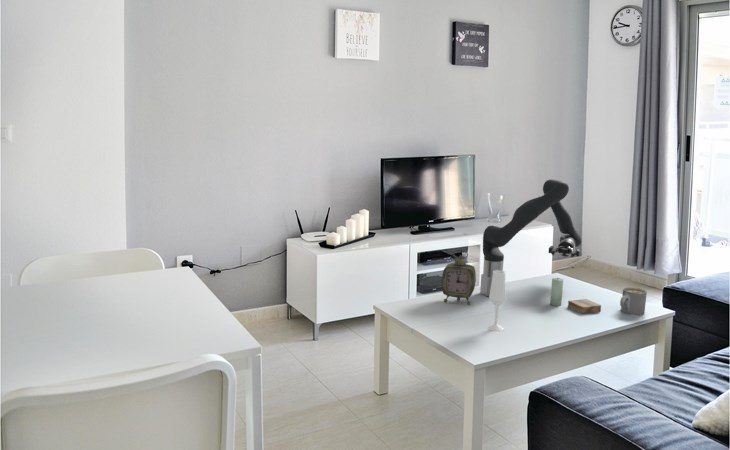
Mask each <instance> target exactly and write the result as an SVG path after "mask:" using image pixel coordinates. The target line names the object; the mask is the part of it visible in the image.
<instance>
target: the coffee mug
mask: <svg viewBox="0 0 730 450" xmlns="http://www.w3.org/2000/svg"><path fill="white" fill-rule="evenodd" d="M647 293H648V292H647V290H646V289H644V288H641V287H635V286H627V287H623V288H622V296H621V297H620V299H619V300H620V301H619V303H620V304H619V305H620V311H621V312H622V313H625V314H628V315H634V316H641V315H644V314H645V311H646V303H647Z"/></svg>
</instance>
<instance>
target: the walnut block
mask: <svg viewBox="0 0 730 450" xmlns="http://www.w3.org/2000/svg"><path fill="white" fill-rule="evenodd" d="M567 304H568V305H567V307H568V308H569V309H571V310H573V311H575V312H578V313H579V314H582V315H583V314H584V315H585V314H591V313H601V310H602V304H599V303H596V302H594V301H592V300H589V299H587V298H581V299H572V300H568V303H567Z"/></svg>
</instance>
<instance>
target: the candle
mask: <svg viewBox="0 0 730 450" xmlns="http://www.w3.org/2000/svg"><path fill="white" fill-rule="evenodd" d="M550 288H551V289H550V300H549V304H550V306H553V307H560V306H562V301H563V300H562V298H563V290H564V279H562V278H559V277H554V278H552V279H551V287H550Z"/></svg>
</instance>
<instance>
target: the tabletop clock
mask: <svg viewBox="0 0 730 450" xmlns="http://www.w3.org/2000/svg"><path fill="white" fill-rule="evenodd" d="M456 252H463V253H465V254H466V256H462V255H459V256H458V255H457V256H456V255H455V253H456ZM452 255H453V257H455V258H456V260H455V261H454V262H451V263H448V264H446V266H445V267H444V269H443V271H442V274H441V275H442V276H441V290H442V293H443V295H445V296H446V298H444V299H443V302H444V303H447V302H448V299H449V297H451V298H456V301H458V302H460V301H461V299H466V301H467V302H466V305H467V306H471V302H470V301H469V298H471V296H472V294H473V292H474V291H475V288H476V281H477V274H476V269H475V266H473V265H471V264H467V263H466V260H464V259H467V258H468V257H469V253H468V252H467V251H466V250H465V249H459V248H458V249H455V250H453V252H452Z"/></svg>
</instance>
